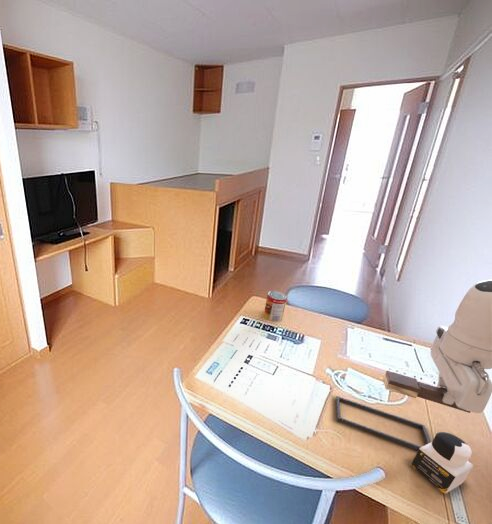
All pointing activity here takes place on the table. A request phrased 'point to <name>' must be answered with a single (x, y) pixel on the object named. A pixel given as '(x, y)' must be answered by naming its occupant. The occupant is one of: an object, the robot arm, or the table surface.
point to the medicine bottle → (444, 461)
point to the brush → (415, 388)
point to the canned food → (275, 306)
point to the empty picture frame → (384, 416)
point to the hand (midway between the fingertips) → (443, 396)
